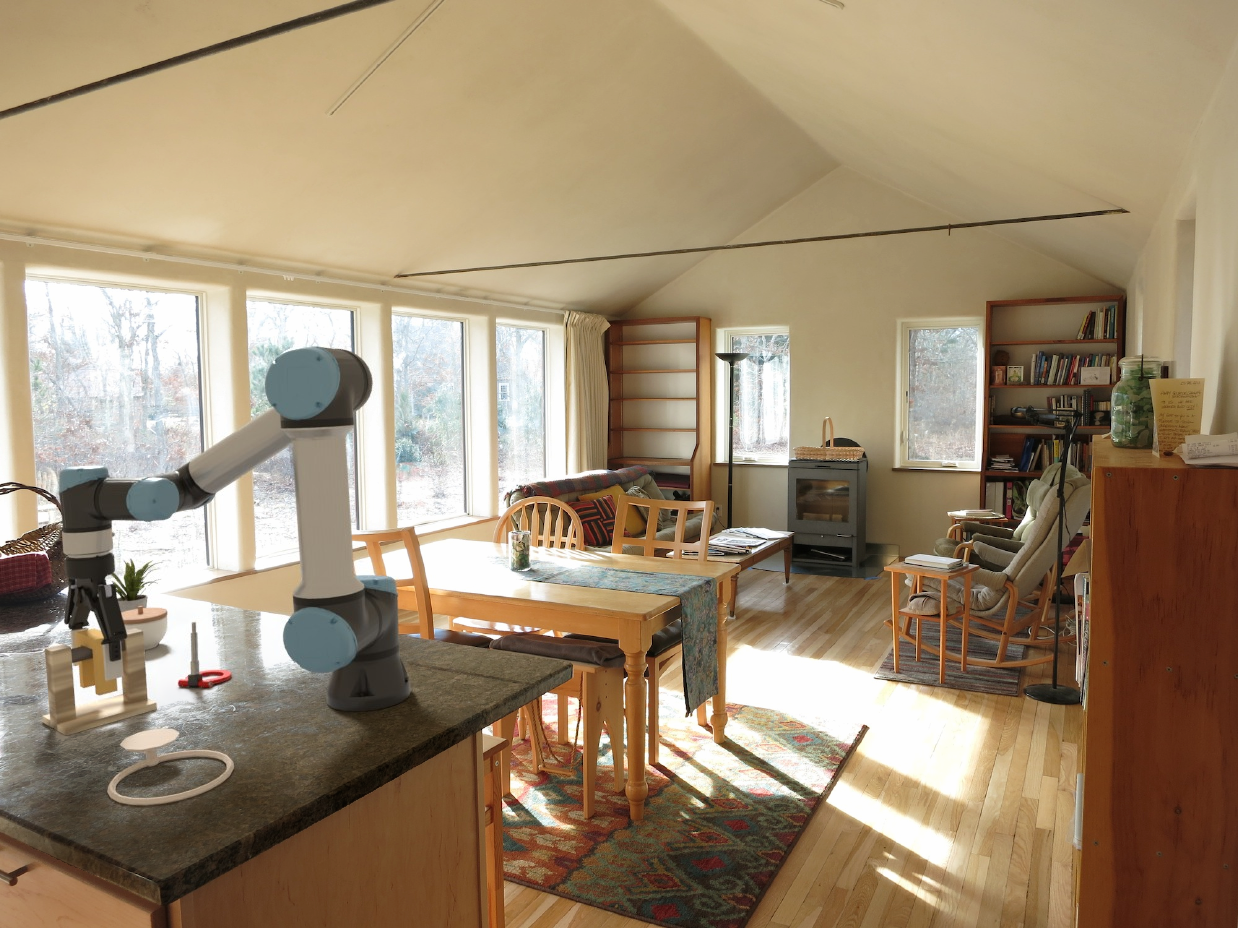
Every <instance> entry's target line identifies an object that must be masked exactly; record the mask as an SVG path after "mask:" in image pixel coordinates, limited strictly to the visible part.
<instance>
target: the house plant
mask: <svg viewBox="0 0 1238 928" xmlns="http://www.w3.org/2000/svg"><path fill="white" fill-rule="evenodd" d="M123 562H124V564H125V573H124V575H123V581H124V583H123V582H122V580H121V579H120V578H119V576H118V575H117V574H116V573H115V572H114V573H113V574H111V575H110V576H111V577H112V578H114V580H115V581H116V582H117V583H118V584H117V583H116V582H115V581H113V580H111V582H112V583H111V584H115V586H116V594H118V595H119V596H120V597H117V599H118V603H119V606H120V610H121V612H125V611H129V610H134V609H138V606H143V608H148V607H147V605H148V595H146V594H143V592H144V591H142V589H145V585H147V584H150V585H152V584H153V583H155V584H158V582H156V581H158V580H161V578H160V579H155V580H153V581H146V582H144V579H145V578H147V576H148V575H149V574H150V573H151V572H153V571H155V570H158V568H155V569H152V570H150V568H152V567H153V566H155V565H157V564H163V561H161V562H156V563H153V564H150V563H152V562H153V560H151V561H149V562H147V563H146V564H144V565H143V566H142V567H141V568H139V569H138V570H136V566H135V564H134V561H133V559H132V558H130V563H129V562H127V561H125V560H123ZM149 564H150V565H149ZM148 570H149V571H148ZM146 572H147V573H146ZM144 575H145V576H144ZM119 585H120V586H119ZM158 585H159V584H158ZM140 591H142V592H141V593H140V594H139V592H140Z"/></svg>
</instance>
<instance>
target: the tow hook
mask: <svg viewBox="0 0 1238 928" xmlns="http://www.w3.org/2000/svg"><path fill="white" fill-rule="evenodd" d="M198 646H199V641H198V632H197V621H192V622H191V632H190V652H191V653H190V655H191V656H190V657H191V661H190V674H187V676H185V679H184V678H180V679H179V680H178V681H177V686H178V687H185V688H186V687H187V688H198V689H199V688H206V689H207V688H209V689H211V688H212V686H213V685H215V684H221V683H224V682H226V681H228V680H230V679H231V678H232V672H231V671H229V670H225V669H207V670H201V671H200V660H199V647H198ZM208 676H218V677H215V678H207V679H203V677H208Z"/></svg>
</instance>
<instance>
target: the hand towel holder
mask: <svg viewBox="0 0 1238 928" xmlns="http://www.w3.org/2000/svg"><path fill="white" fill-rule="evenodd" d="M179 735H180V732H179V731H177V730H176V729H174V728H153V729H150V730H149V729H147V730H143V731H139V732H137V733H134V734H132V735H130V736H127V737H125V738H124V739H123V740H122V741H121V743H120V744H119V745H120V747H122V748H124V750H126V751H127V752H129V753H145V759H144V760H141V761H139V762H136V763H134V764H133V765H130V766H128V767H127V768H124V769H123V770H122V771H120V772H119V773H117V774H116V775H115V776H114V777H113V778H112V780H110V781H109V784H108V786H107V794H108V796H109V797H110V799H111V800H113V801H116V802H117V803H119V804H123V805H128V806H129V805H130V806H154V805H163V804H167V803H169V804H170V803H172V802H178V801H182V800H185V799H188V798H189V799H190V798H192V797H196V796H198V795H201V794H204V793H205V792H208V791H210V790H212V789H215V788H216V787H218V786H219V785H222V783H224V782H225V781H226V780H227V779H228V778H230V776H231V775H232V773H233V770H234V769H235V765H234V764H235V763H234V761H233V760H232V758H230V757H229V756H228V754H225V753H222V752H220V751H215V750H209V749H191V750H179V751H175V752H169V753H164V754H161V755H158V751H157V750H160V749H162V748H166V747H168V746H169V745H172V744H173V743H174V742H175V741H176V740H177V738H178V737H179ZM185 758H186V759H187V758H211V759H216V760H218V761H219V760H220V761H222V762H224V763H225V764H226V769H225V771H224V772H223V773H221V775H219V777H217V778H215V779H213V780H211V781H209V782H208V783H206V784H205V783H204V784H203V785H201V786H198V787H196V788H194V789H189V790H187V791H183V792H181V793H180V792H178V793H176V794H169V795H164V796H157V797H142V798H141V797H130V796H125V795H121V794H119V793H118V792H117V791H116V787H117V785H118V784H119V782H120V781H122V780H123V779H125V778H127V777H128V776H129V775H131V774H133V773H135V772H136V771H139V770H140V769H144V768H146V767H155V766H157V765H159V763H164V762H166V761H173V760H177V759H178V760H179V759H185Z"/></svg>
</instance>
